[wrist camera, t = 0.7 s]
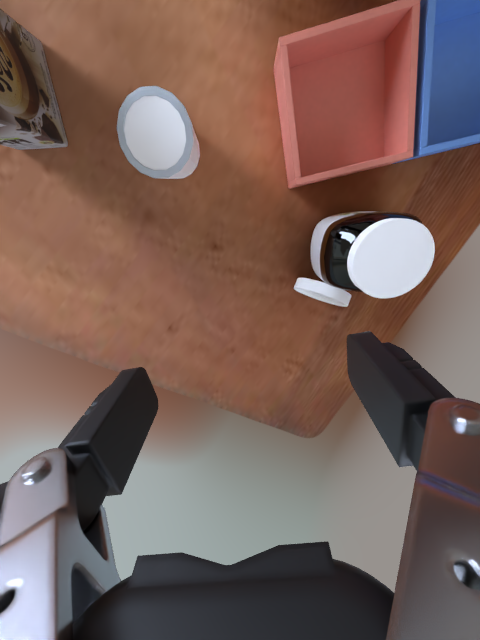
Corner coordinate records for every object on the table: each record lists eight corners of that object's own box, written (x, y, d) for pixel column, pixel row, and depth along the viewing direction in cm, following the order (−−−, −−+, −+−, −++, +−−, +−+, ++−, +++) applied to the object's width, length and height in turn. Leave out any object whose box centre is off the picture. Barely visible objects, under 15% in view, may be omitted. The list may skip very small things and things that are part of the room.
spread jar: (390, 207, 30) (467, 207, 20) (377, 296, 35) (434, 335, 24) (290, 215, 31) (312, 219, 21) (290, 302, 36) (308, 341, 25)
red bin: (273, 68, 26) (278, 37, 21) (388, 34, 24) (421, -8, 20) (288, 189, 30) (295, 185, 25) (386, 165, 29) (413, 156, 24)
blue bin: (394, 32, 24) (429, -10, 20) (522, -6, 23) (591, -61, 18) (392, 164, 29) (420, 155, 24) (499, 138, 27) (551, 123, 23)
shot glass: (195, 105, 27) (178, 73, 21) (212, 176, 30) (202, 167, 23) (136, 123, 28) (102, 98, 22) (158, 191, 31) (134, 186, 24)
